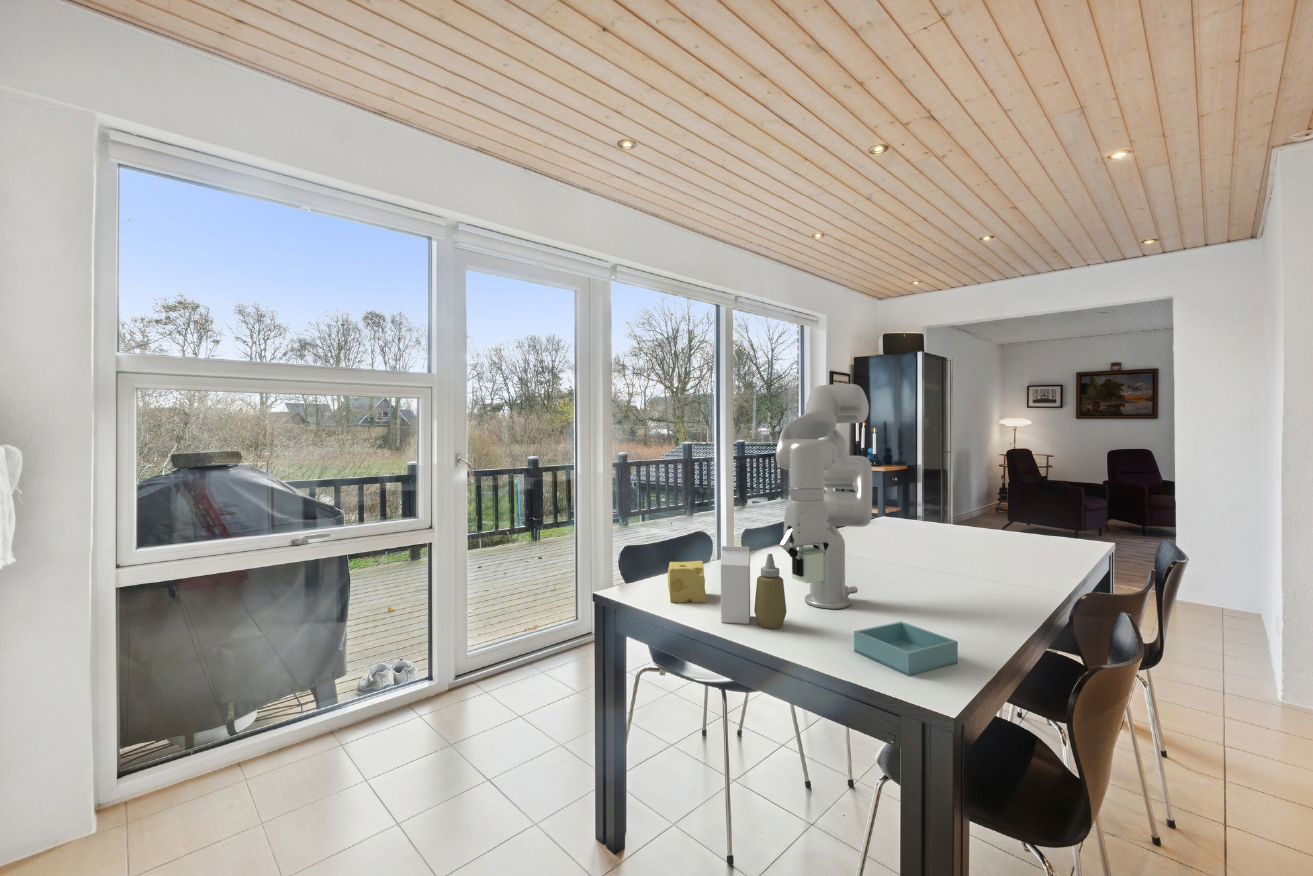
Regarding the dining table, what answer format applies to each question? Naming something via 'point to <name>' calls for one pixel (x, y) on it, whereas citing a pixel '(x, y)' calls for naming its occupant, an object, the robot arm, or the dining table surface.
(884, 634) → the bin
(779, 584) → the squeeze bottle
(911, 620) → the dining table surface
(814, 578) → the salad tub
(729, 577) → the milk carton
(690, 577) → the cheese
